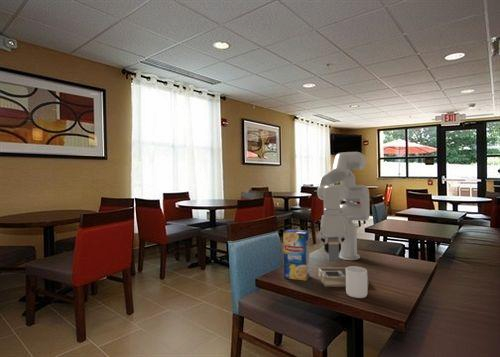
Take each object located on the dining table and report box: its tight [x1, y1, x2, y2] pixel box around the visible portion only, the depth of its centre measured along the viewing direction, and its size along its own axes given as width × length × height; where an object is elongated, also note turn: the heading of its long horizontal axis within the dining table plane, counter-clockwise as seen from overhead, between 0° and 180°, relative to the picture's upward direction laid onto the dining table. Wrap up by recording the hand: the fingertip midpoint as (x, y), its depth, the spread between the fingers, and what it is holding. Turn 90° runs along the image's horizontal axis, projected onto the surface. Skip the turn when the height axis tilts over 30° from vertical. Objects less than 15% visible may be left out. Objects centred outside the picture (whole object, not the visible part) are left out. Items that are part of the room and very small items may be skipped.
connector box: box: [317, 267, 370, 288], centre depth 135 cm, size 14×19×4 cm
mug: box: [345, 265, 368, 299], centre depth 122 cm, size 12×8×10 cm
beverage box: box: [282, 229, 310, 282], centre depth 142 cm, size 7×11×22 cm, turn 67°
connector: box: [326, 238, 340, 262], centre depth 136 cm, size 5×5×10 cm
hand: (332, 251), depth 135 cm, fingers closed on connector, 4 cm apart
